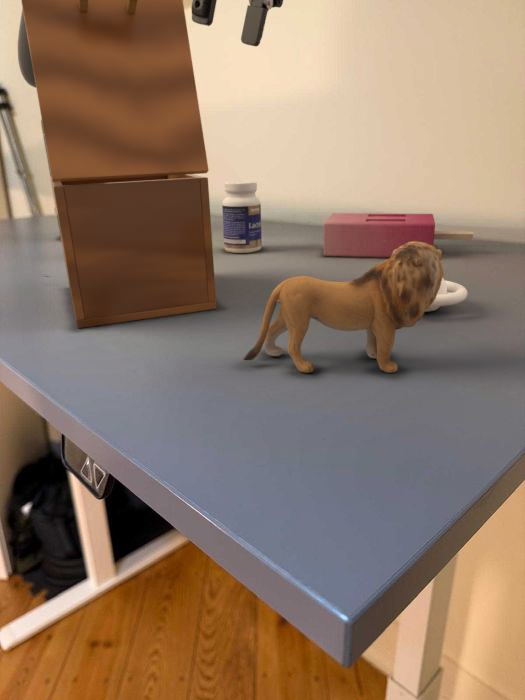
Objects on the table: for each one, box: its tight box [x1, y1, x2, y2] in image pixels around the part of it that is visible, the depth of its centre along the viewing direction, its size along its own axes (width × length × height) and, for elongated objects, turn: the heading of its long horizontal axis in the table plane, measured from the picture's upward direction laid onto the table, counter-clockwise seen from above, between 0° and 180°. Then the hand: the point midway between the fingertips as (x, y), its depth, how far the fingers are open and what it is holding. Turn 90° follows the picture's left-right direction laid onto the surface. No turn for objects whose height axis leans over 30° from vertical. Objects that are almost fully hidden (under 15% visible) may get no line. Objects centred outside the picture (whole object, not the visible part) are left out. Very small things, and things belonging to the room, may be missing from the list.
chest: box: [50, 174, 217, 329], centre depth 57 cm, size 16×14×13 cm
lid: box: [20, 0, 209, 182], centre depth 45 cm, size 16×14×6 cm
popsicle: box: [323, 212, 474, 259], centre depth 77 cm, size 9×5×20 cm
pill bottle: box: [221, 180, 263, 254], centre depth 80 cm, size 6×6×10 cm
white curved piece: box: [424, 276, 468, 313], centre depth 52 cm, size 8×6×8 cm
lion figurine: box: [242, 241, 444, 374], centre depth 40 cm, size 15×5×9 cm, turn 93°
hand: (226, 34), depth 57 cm, fingers open, 8 cm apart
